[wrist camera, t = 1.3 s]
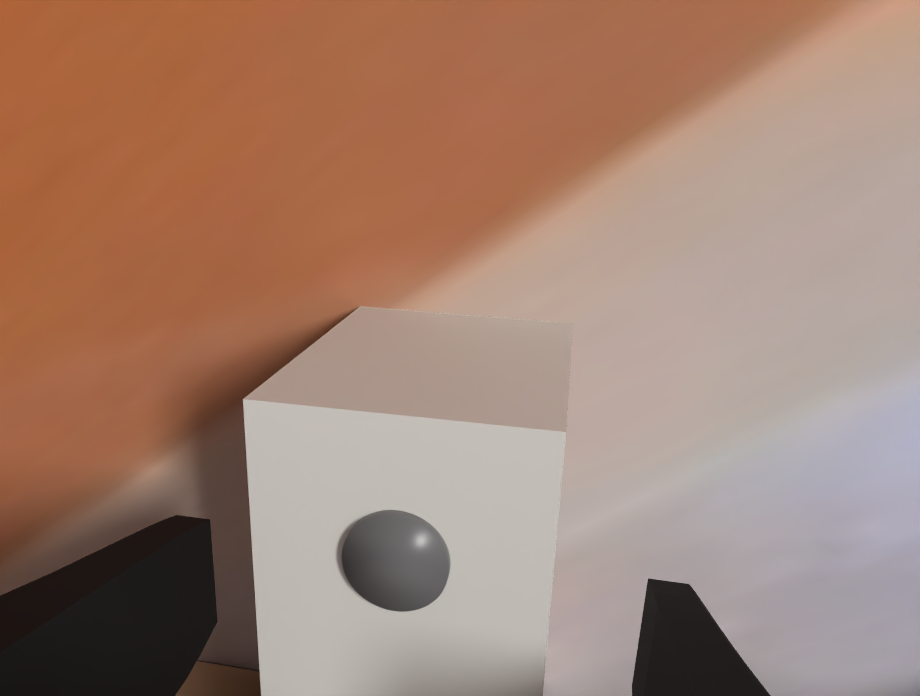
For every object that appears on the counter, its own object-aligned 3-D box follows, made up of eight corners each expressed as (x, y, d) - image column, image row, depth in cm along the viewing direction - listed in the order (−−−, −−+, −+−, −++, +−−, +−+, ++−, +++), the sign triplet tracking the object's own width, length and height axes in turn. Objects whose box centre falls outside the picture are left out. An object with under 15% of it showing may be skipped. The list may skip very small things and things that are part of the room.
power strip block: (573, 321, 13) (565, 438, 8) (541, 675, 15) (521, 928, 10) (362, 304, 14) (237, 403, 9) (364, 648, 16) (267, 876, 11)
